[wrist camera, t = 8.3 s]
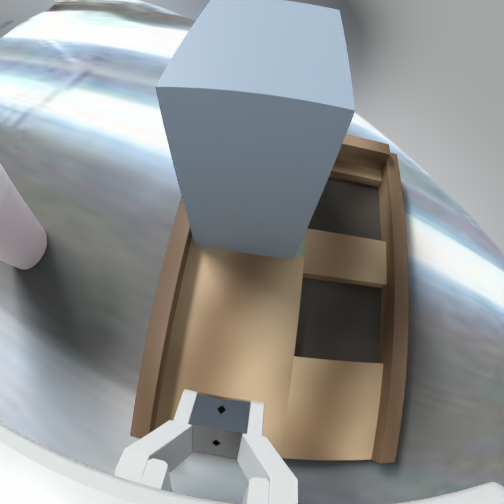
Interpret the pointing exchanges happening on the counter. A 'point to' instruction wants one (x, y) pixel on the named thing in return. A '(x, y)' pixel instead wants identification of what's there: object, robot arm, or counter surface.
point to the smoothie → (18, 228)
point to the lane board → (295, 322)
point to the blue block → (256, 120)
